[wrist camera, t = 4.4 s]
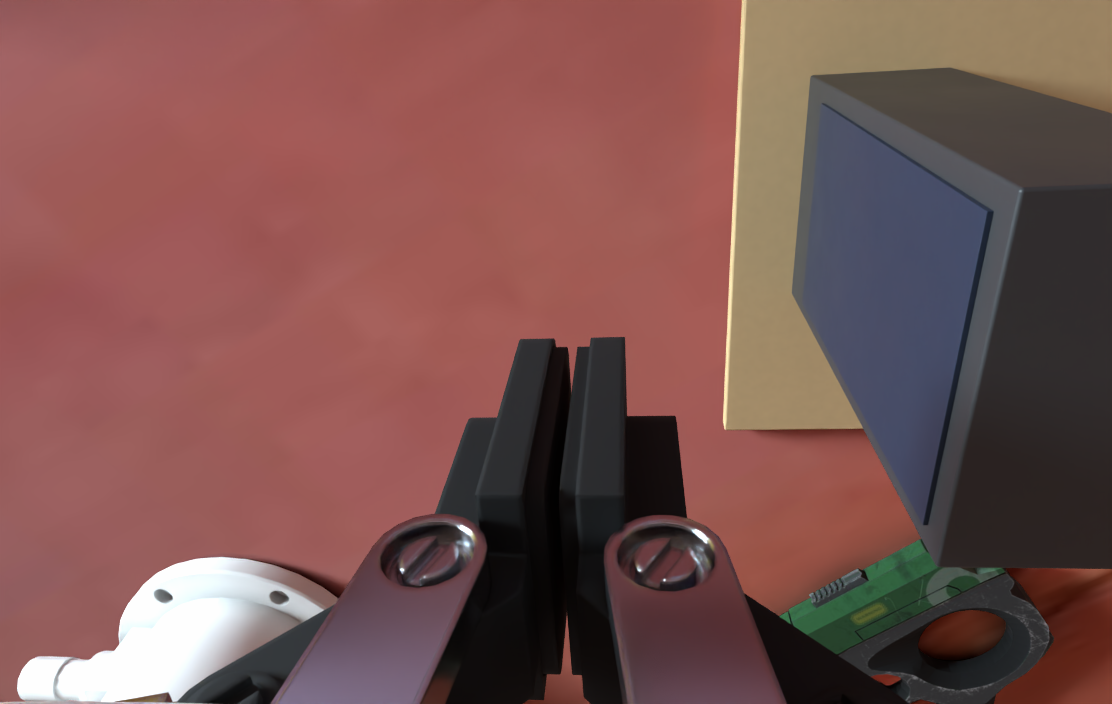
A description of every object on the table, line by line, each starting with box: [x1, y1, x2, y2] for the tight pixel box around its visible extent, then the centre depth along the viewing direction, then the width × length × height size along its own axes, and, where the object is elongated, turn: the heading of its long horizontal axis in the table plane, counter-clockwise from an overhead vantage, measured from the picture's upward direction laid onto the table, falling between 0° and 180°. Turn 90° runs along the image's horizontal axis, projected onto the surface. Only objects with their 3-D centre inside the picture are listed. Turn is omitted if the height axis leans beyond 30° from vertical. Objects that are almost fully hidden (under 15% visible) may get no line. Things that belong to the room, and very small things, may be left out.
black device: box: [792, 67, 1112, 569], centre depth 17 cm, size 4×7×13 cm, turn 4°
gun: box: [779, 539, 1054, 704], centre depth 33 cm, size 16×1×10 cm
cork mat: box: [723, 0, 1112, 430], centre depth 23 cm, size 20×18×1 cm
